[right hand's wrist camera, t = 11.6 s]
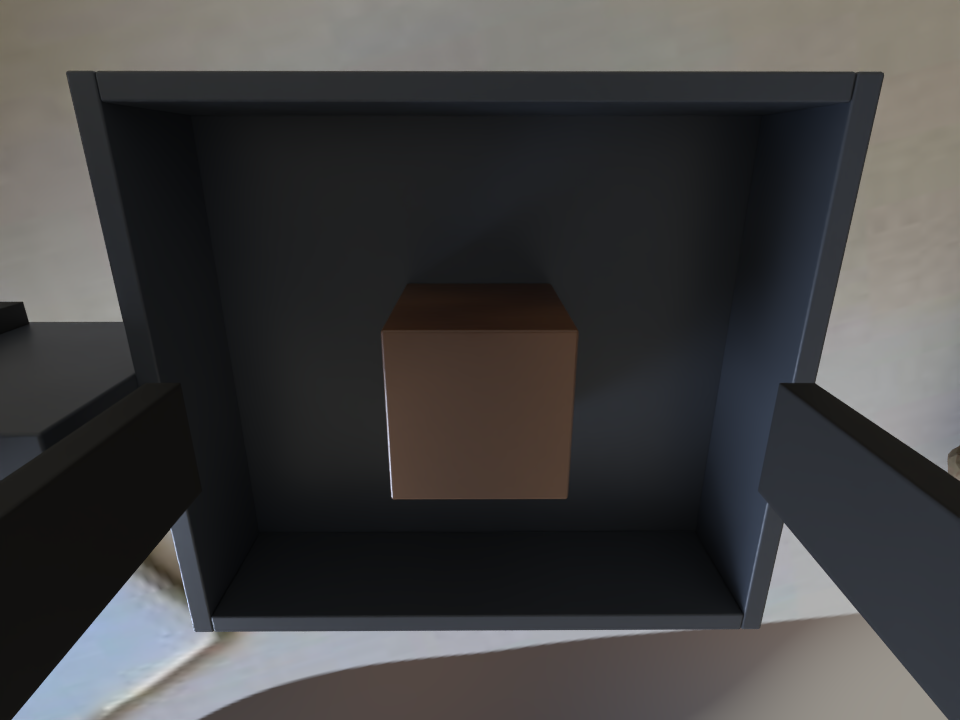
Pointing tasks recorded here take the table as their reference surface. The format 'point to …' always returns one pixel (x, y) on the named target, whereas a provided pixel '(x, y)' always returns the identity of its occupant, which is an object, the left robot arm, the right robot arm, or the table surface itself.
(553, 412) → the block
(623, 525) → the tray
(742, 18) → the table surface
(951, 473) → the stone
